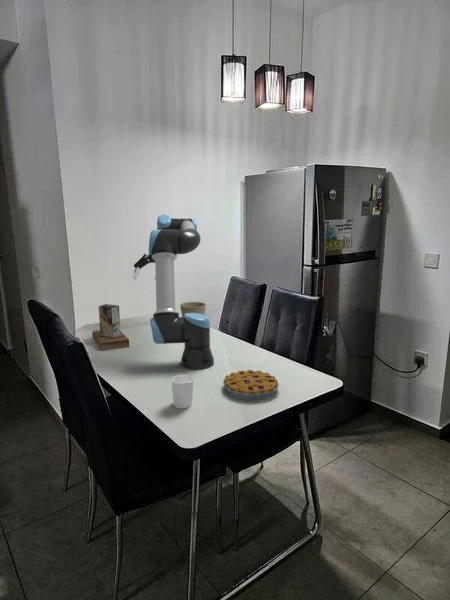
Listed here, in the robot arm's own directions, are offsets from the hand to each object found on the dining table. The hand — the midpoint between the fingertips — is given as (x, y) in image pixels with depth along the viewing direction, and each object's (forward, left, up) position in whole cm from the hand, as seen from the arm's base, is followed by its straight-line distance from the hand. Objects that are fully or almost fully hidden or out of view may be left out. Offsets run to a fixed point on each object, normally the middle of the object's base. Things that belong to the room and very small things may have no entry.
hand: (145, 278), depth 223 cm
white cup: (-79, -38, -33) cm, 93 cm away
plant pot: (+14, -24, -33) cm, 43 cm away
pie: (-63, -62, -33) cm, 94 cm away
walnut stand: (-13, +16, -33) cm, 39 cm away
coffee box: (-13, +16, -29) cm, 35 cm away
